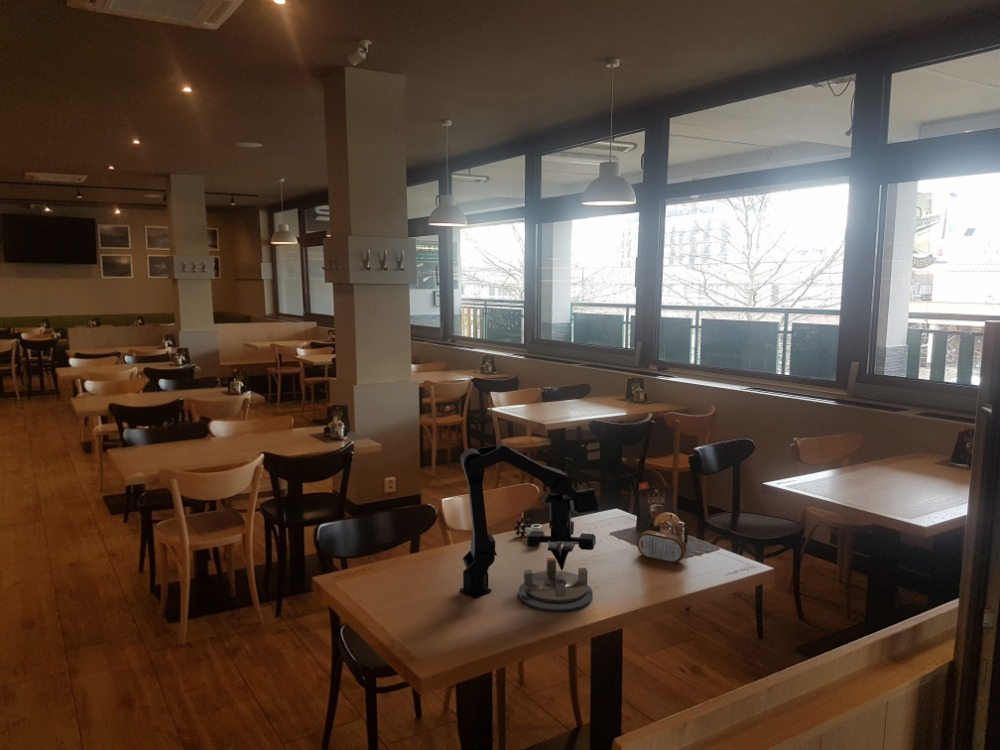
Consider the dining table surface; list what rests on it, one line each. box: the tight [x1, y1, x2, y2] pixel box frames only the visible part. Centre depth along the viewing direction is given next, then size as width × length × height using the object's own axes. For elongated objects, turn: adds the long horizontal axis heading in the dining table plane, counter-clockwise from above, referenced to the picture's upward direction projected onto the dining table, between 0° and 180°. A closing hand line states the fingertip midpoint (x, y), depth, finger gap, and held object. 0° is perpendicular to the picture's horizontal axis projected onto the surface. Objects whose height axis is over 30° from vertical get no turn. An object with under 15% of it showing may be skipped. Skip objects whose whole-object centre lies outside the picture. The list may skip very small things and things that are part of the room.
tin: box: [636, 529, 687, 564], centre depth 214 cm, size 15×3×8 cm, turn 58°
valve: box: [513, 517, 543, 548], centre depth 230 cm, size 7×7×12 cm
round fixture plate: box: [523, 557, 588, 604], centre depth 188 cm, size 17×17×6 cm
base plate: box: [518, 582, 594, 613], centre depth 189 cm, size 20×20×2 cm
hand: (562, 569), depth 195 cm, fingers closed
